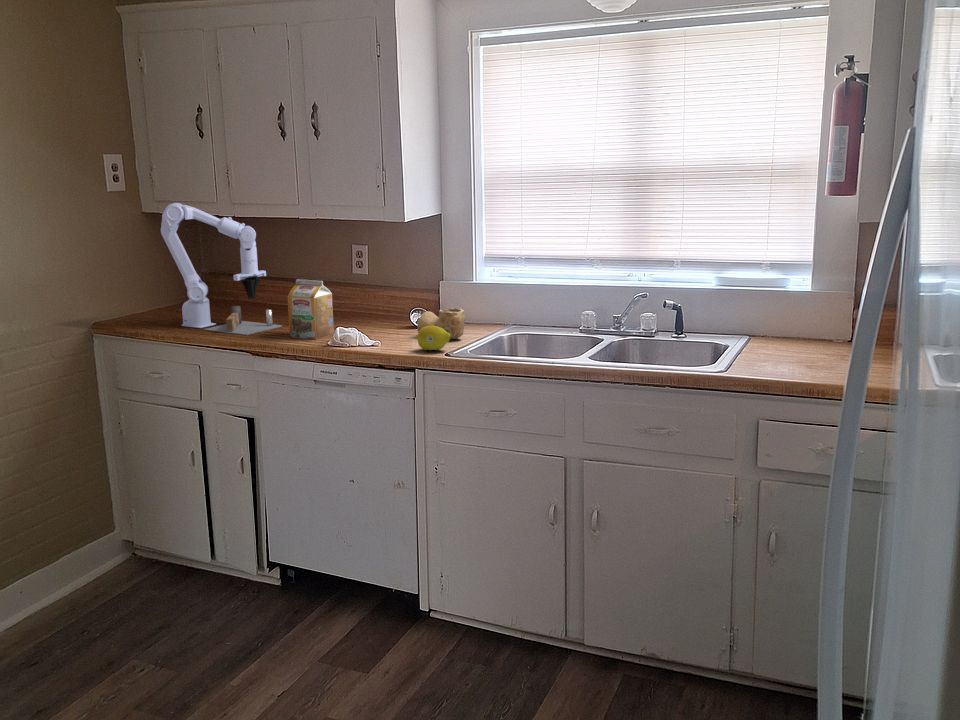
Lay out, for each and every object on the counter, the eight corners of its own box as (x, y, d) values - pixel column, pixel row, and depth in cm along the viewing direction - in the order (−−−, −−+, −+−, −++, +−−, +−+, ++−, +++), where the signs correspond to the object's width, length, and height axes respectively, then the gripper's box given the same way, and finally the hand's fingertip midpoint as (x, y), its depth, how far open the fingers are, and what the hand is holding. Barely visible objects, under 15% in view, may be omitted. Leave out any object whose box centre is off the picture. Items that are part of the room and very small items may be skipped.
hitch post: (265, 326, 313) (264, 310, 311) (269, 325, 314) (268, 309, 313) (270, 327, 312) (269, 310, 310) (273, 326, 313) (272, 309, 312)
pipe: (431, 333, 300) (430, 304, 298) (470, 338, 291) (470, 308, 289) (415, 338, 293) (414, 308, 290) (455, 343, 284) (455, 313, 282)
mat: (204, 329, 307) (204, 329, 307) (240, 321, 322) (240, 320, 322) (246, 335, 298) (246, 334, 298) (282, 326, 313) (282, 325, 313)
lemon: (411, 352, 272) (411, 326, 270) (423, 347, 279) (422, 322, 277) (443, 355, 267) (442, 329, 265) (454, 349, 274) (453, 324, 272)
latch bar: (233, 322, 318) (232, 305, 317) (242, 321, 318) (241, 305, 317) (224, 331, 302) (223, 314, 301) (234, 330, 302) (233, 313, 301)
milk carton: (333, 334, 299) (331, 279, 295) (316, 339, 290) (313, 283, 286) (308, 331, 304) (305, 277, 299) (289, 337, 294) (286, 281, 290)
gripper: (243, 263, 305) (245, 301, 308) (271, 259, 317) (273, 296, 320) (228, 262, 308) (230, 300, 311) (256, 258, 321) (259, 294, 324)
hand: (251, 298), depth 316 cm, fingers closed
